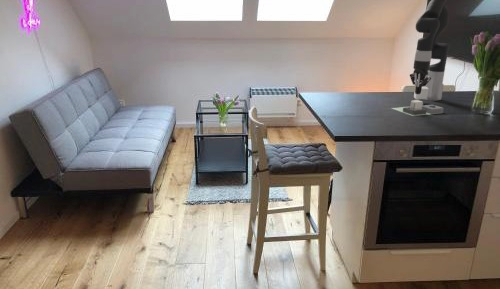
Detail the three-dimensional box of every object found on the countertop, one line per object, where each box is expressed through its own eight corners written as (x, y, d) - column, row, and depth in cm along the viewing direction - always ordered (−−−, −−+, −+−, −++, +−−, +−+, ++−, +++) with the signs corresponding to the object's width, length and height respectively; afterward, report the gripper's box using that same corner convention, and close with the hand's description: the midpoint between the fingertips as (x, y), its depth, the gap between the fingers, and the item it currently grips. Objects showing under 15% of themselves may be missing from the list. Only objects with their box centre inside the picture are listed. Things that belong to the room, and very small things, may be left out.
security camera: (426, 106, 230) (428, 88, 227) (413, 105, 231) (415, 88, 228) (423, 103, 236) (426, 86, 233) (411, 103, 237) (413, 86, 234)
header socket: (415, 110, 217) (416, 106, 216) (425, 113, 210) (426, 109, 210) (402, 111, 214) (403, 107, 213) (412, 114, 207) (413, 111, 207)
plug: (415, 111, 215) (417, 100, 213) (421, 112, 211) (422, 101, 209) (408, 111, 213) (409, 100, 211) (413, 113, 210) (415, 102, 208)
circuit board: (419, 107, 227) (421, 100, 226) (443, 114, 212) (444, 107, 211) (390, 110, 221) (391, 102, 219) (412, 117, 206) (413, 110, 204)
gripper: (438, 61, 199) (432, 96, 204) (419, 57, 211) (414, 91, 216) (426, 61, 196) (421, 97, 202) (407, 58, 208) (402, 91, 214)
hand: (417, 93), depth 209 cm, fingers closed
